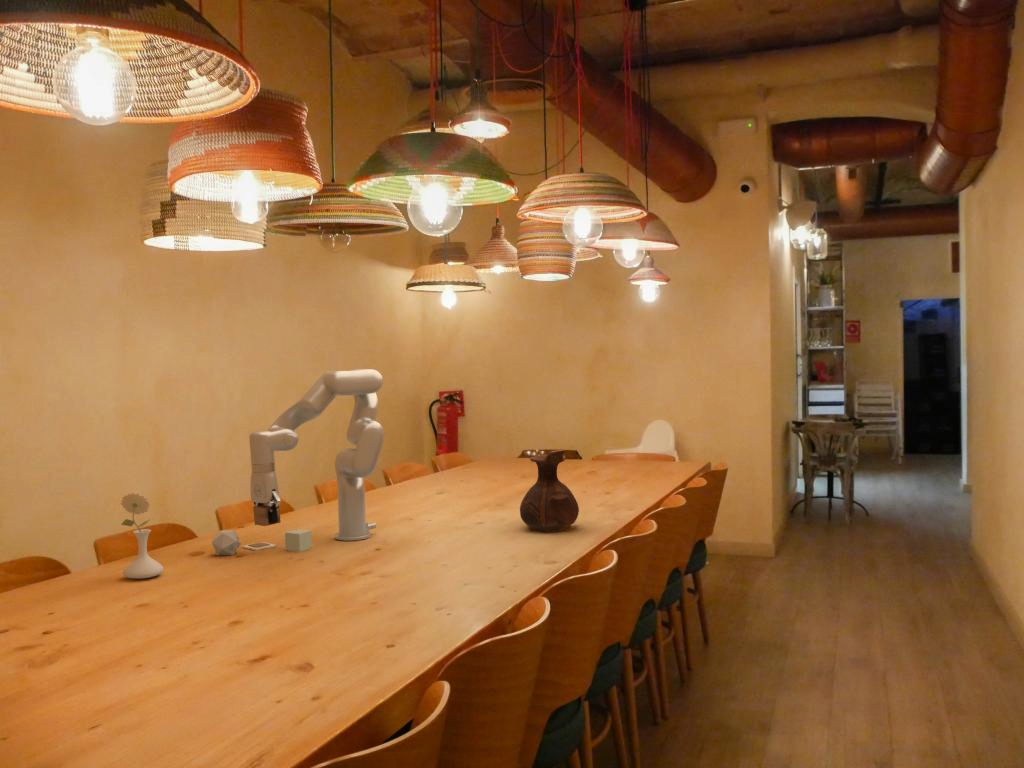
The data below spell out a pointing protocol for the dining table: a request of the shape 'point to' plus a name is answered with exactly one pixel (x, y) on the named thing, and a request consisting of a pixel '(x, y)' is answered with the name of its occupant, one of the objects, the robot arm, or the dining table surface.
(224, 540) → the die
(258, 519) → the walnut block
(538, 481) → the dark brown vase
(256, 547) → the tile
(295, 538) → the sage block
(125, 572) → the flower in vase
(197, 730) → the dining table surface
